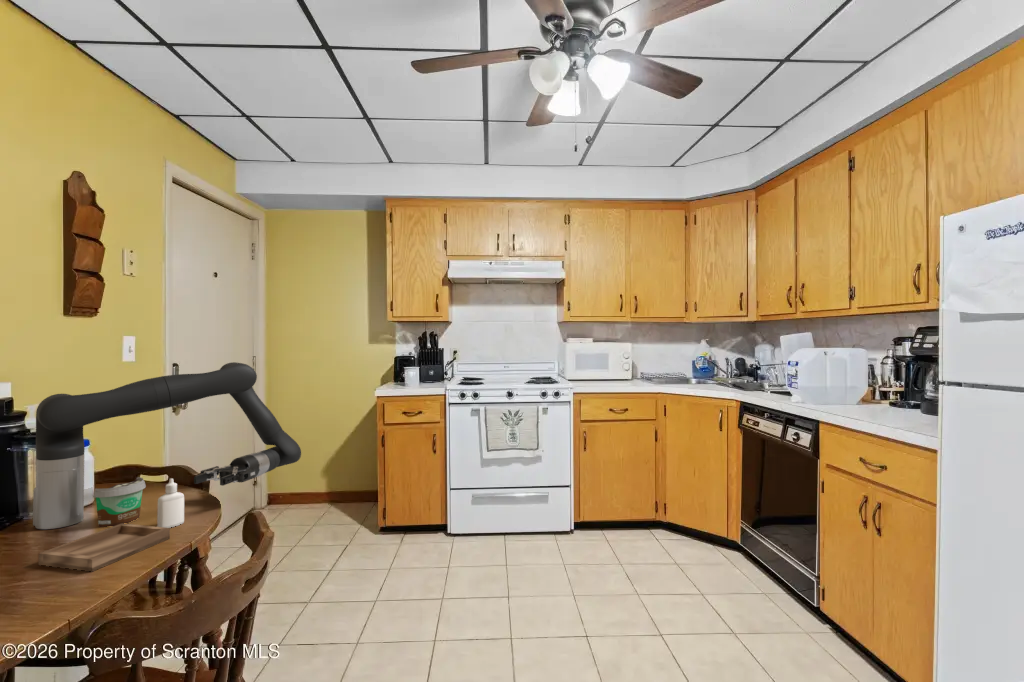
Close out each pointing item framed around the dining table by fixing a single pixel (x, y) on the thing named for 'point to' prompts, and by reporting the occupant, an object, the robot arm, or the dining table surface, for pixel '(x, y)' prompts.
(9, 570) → the dining table surface
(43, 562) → the walnut tray
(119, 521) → the food container
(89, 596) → the dining table surface
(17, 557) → the dining table surface
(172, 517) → the eye dropper bottle
